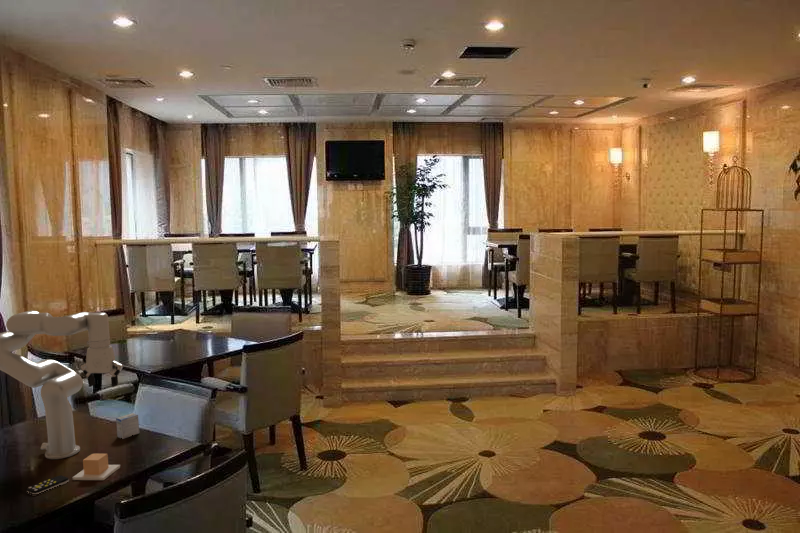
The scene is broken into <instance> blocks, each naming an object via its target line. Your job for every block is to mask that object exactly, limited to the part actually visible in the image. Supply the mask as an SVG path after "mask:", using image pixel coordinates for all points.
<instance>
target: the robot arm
mask: <svg viewBox="0 0 800 533" xmlns="http://www.w3.org/2000/svg"><path fill="white" fill-rule="evenodd" d="M5 326H6V329H7V331H4V332H0V371H1V372H3V373H5V374H7V375H9V376H10V377H12V378H13V379H15V380H17V381H19V382H20V383H22V384H24V385H25V386H27V387H29V388H38V387H41V388H40V397H41V400H42V402H43V403H42V404H43V408H44V412H45V413H44V414H45V422H46V431H47V432H46V433H47V434H46V435H47V442H42V444H41V445H40V450H46V451H45V454H44V457H45V458H46V459H48V460H62V459H66V458H69V457H72V456H75V455H76V454H78V453H79V452H80V451H81V446H80V445H77V444H76V436H75V426H74V414H73V407H72V404H71V403H70V401H69V397H71V396H73V395H75V394H76V393H78V392H80V391H81V389H82V388H83V384H84V382H83V381H84V380H83V378H82V377H81V374H79V373H77V372H76V371H75V370H73V369H72V368H70V367H68V366H66V365H64V364H63V363H60V361H57V360H54V359H51V358H47V359H43V360H39V361H37V362H36V361H35V362H34V361H32V360H30V359H28V358H26V357H25V356H23V355H20V354H16V353H14V352H15V351H17V350H20V349H22V348H24V347H25V346H26V345H27V344H29V342H30V341H32V339H33V338H34V337H35V335H47V336H52V337H60V336H61V337H62V336H73V335H75V334H79V333H82V332H85V331H87V333H88V334H87V335H88V340H87V341H86V345H88V346H89V347H88V348H87V351H86V357H85V358H86V361H85V363H83V364H82V365H80V369H81V370H82V373H83V374H84V375H85V377H86V378H87V383H88V384H87V385H88V387H89V388H90V387H91V388H92V387H93V386H95V385H96V379H95V375H94V374H108V373H109V374H110V375H111V379H110V380H111V381H110V382H111V387H112V388H113V387H116V386H118V384H119V379H118V378H119V374H120V373H121V372H122V370H123V367H124V365H123V364H122V363H120V362H118V361H116V355H115V352H114V349H113V346H112V345H111V338H110V336H111V335H110V324H109V315H108V314H107V313H106V312H88V311H81V312H77V313H73V314H69V315H67V316H53V315H52V314H51V313H49V312H39V311H37V310H28V311H23V312H20V313H15V314H12V315H11V316H10V317H8V319H7V321H6V323H5ZM116 368H117V369H116Z"/></svg>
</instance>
